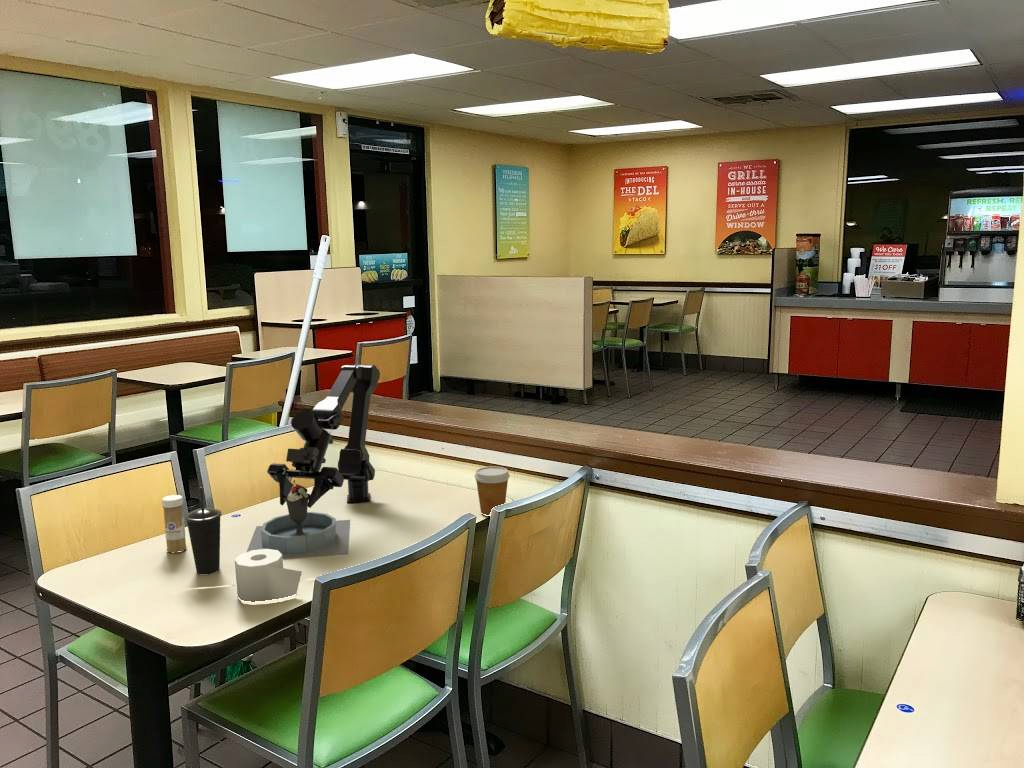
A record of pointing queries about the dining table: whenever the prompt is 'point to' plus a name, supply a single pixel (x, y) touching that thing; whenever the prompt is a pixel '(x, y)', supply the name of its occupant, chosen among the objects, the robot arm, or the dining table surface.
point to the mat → (332, 549)
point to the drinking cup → (205, 537)
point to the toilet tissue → (264, 576)
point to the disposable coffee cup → (491, 487)
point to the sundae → (297, 507)
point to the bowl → (282, 527)
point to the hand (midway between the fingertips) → (295, 505)
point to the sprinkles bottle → (174, 523)
